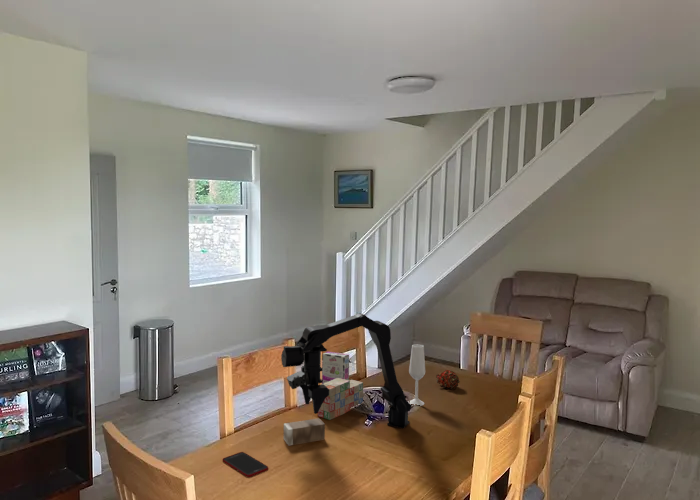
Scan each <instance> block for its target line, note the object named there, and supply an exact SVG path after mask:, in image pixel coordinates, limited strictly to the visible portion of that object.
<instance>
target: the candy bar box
mask: <svg viewBox="0 0 700 500" xmlns="http://www.w3.org/2000/svg"><path fill="white" fill-rule="evenodd" d="M321 357H322V358H321V360H322V361H321V363H322V364H321V368H322V371H321V380H322V383H321V384H324V383H326V382H329V381H331V380H334V379H336V378H341V379H345V380H350V354H347V353H340V352H334V351H333V352H332V351H324V353H322V354H321Z"/></svg>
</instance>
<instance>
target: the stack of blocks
mask: <svg viewBox="0 0 700 500" xmlns="http://www.w3.org/2000/svg"><path fill="white" fill-rule="evenodd" d="M320 385H322V383H320ZM324 385H325V386H326V387H327V388H328V389H329V396H327V397H326V398H325V400H324V402H323V403H322V405H321V407H320V409H319V411H318V413H317V417H318V418H319V417H320V418H322V419H325V420H329V421H330V420H333V419H335V418H338V417H340V416H342V415H344V414H346V413H348V412H350V411H351V410H350V408H351V407H353V406H356V405H358V404H361V403H362V402H363V403H364V382H363V381H359V380H354V379H349V380H345V379H341V378H336V379H334V380H331V381H329V382H326V383H324Z"/></svg>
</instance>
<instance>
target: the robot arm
mask: <svg viewBox="0 0 700 500" xmlns="http://www.w3.org/2000/svg"><path fill="white" fill-rule="evenodd" d="M360 327H363V328H364V329H366V330H368V333H369V336H370V338H371V340H372V342H373V343H374V345H375V346H376V349H377V355H378V359H379V363H380V367H381V371H382V377H383V382H384V384H383V386H381V387H380V391H381V397H382V398H383V399H384V401H386V402H387V404H388V406H389V410H387V412H388V413H387V415H388V416H387V422H388V423H387V425H388V426H390V427H396V428H399V429H405V428H406V427H407V426H408V425H409V424H410V423H411V422H410V420H409V412H410V411H411V409H412V405H411V404H410V403H409V401H408V400H407V399H406V395H405V393H404V390H403V388H402V386H401V385H400V383H399V381H398V377H397V375H396V374H397V373H396V370H395V365H394V361H393V357H392V352H391V348H390V345H391V339H392V334H391V333H392V332H391V327H390V326H389V325H388V324H386V323H384V322H382V321H379V320H373V319H371V318H369V317H368V316H367V315H365V314H364V313H361V312H358V313H355V314H353V315H350V316H348V317H345V318H343V319H340V320H336V321H334V322H330V323H328V324H318V325H311V326H307V327H305V328H304V330H303V331H302V336H301V337H300V338H299V340H298V341H297V343H296V345H291V346H290V345H289V346H288V345H287V346H286V345H284V346H283V350H282V352H281V355H280V357H281V365H282V367H283V368H290V367H300V371H296V372H295V373H293V374H290V375H288V376H287V377H286V380H287V383H288V385H289V388H291V389H292V390H295V389H297V388H299V387H300V388H301V391H302V394H303V399H304V403H305V405H309V404H310V401H311V399H312V408H313V413H314V415H318V411H319V409H320V407H321V405H322V403H323V402H324V400H325V398H326V397H327V396H329V389H328V388H327V387H326V386H325V385H324V384H322V378H321V372H322V364H321V363H322V361H321V360H322V358H321V357H322V354H321V353H322V352H328V349H327V348H326V347H325V345H324V343H326V342H327V341H329V339H330V338H332V337H335V336H339V335H341V334H343V333H346V332H350V331H351V330H354V329H355V330H356V329H357V328H360ZM321 384H322V385H321Z"/></svg>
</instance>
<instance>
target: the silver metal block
mask: <svg viewBox="0 0 700 500" xmlns="http://www.w3.org/2000/svg"><path fill="white" fill-rule="evenodd" d="M325 428H326V423H324V421H323V420H322V419H320V418H319V417H317V418H311V419H306V420H299V421H292V422H291V421H290V422H287V423H286V422H285V423H283V440H284V441H285V443H286V445H287V446H295V445H301V444H306V443H312V442H317V441H323V440H325V439H326V435H325V434H326V431H325V430H326V429H325Z"/></svg>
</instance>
